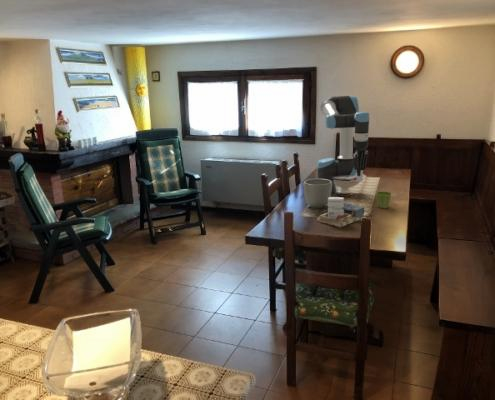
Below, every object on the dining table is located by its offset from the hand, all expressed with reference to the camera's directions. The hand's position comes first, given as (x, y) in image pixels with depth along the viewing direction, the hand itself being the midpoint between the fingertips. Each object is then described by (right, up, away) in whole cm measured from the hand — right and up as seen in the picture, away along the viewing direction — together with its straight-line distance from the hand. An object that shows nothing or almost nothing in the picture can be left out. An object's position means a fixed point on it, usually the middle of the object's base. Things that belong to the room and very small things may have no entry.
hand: (359, 181), depth 237 cm
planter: (-21, -15, +19) cm, 32 cm away
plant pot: (+17, -15, +12) cm, 26 cm away
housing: (-7, -19, -2) cm, 20 cm away
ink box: (-16, -21, -9) cm, 28 cm away
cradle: (-10, -21, -4) cm, 24 cm away
